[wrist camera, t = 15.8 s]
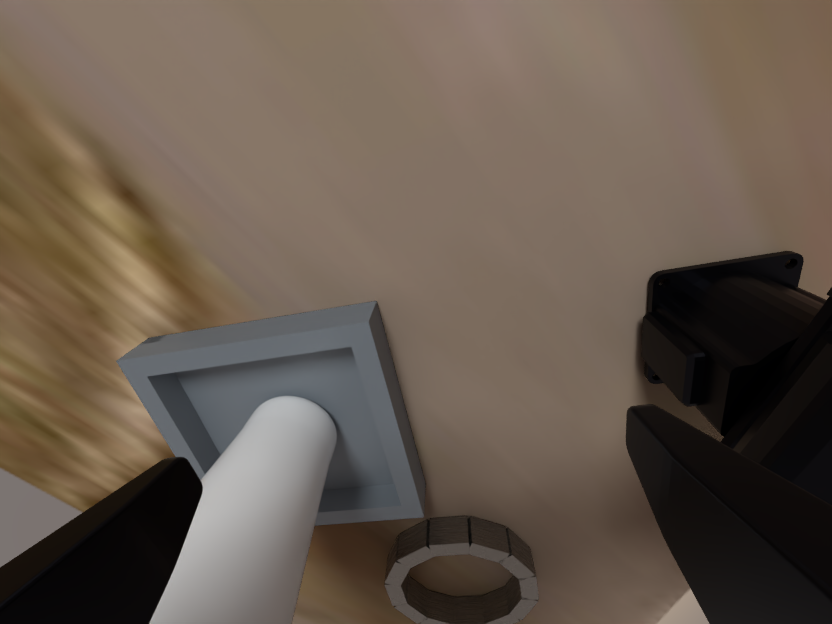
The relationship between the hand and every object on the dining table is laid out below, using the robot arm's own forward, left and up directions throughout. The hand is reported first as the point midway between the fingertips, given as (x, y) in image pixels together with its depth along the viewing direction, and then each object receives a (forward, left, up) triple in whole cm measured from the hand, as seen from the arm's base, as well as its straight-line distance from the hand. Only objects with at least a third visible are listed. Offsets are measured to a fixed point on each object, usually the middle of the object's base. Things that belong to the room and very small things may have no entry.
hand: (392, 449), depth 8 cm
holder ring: (+2, +25, -13) cm, 28 cm away
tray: (+10, +9, -13) cm, 19 cm away
